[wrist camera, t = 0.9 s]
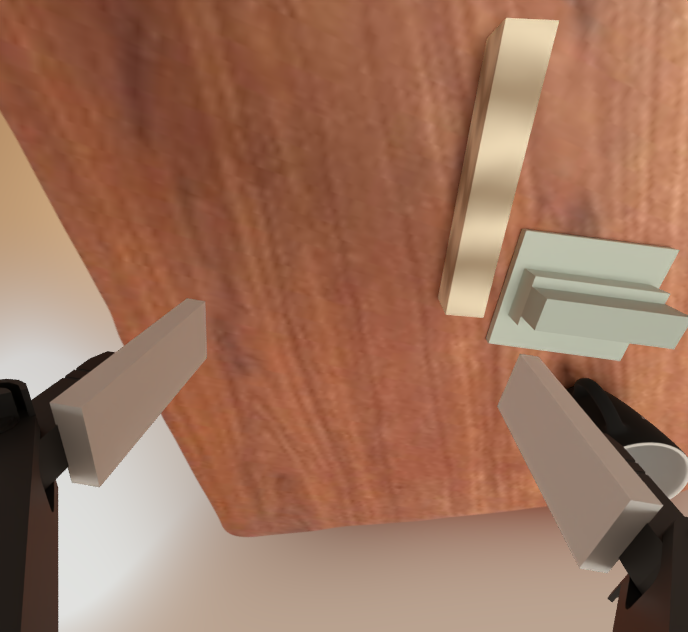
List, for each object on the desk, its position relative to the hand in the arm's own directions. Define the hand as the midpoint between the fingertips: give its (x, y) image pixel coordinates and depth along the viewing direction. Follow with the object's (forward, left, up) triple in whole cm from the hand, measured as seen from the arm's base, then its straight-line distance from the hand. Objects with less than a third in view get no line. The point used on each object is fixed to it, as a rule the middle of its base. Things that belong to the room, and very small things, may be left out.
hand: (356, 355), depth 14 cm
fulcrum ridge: (+3, +22, -22) cm, 31 cm away
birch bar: (-6, +10, -22) cm, 25 cm away
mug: (+15, +27, -22) cm, 38 cm away
